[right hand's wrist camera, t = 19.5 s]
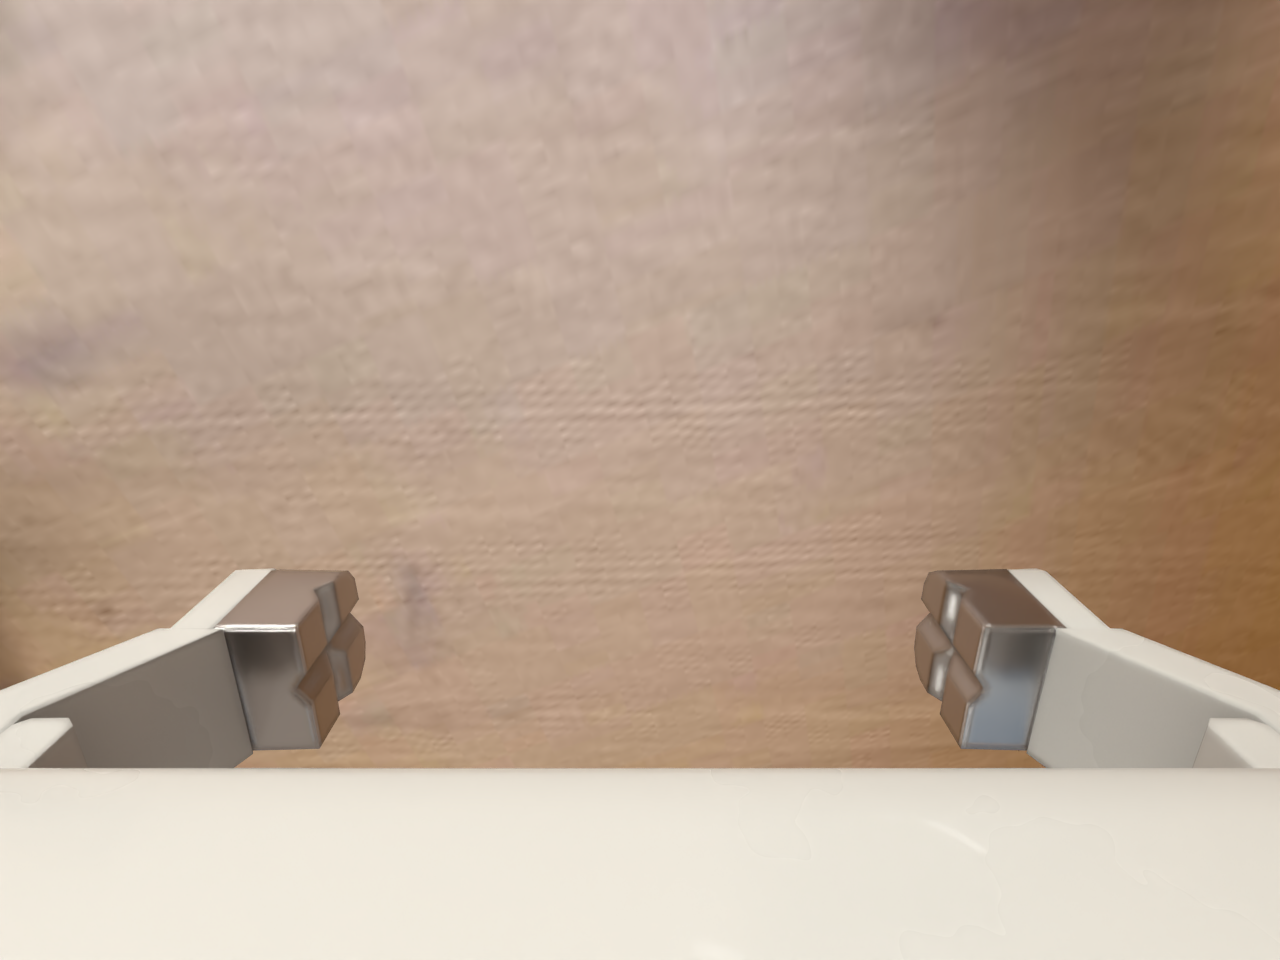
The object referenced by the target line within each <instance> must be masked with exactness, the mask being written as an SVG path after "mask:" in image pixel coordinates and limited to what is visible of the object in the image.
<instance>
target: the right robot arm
mask: <svg viewBox="0 0 1280 960" xmlns="http://www.w3.org/2000/svg"><path fill="white" fill-rule="evenodd" d="M358 600H359V598H358V593H357V588H356V583H355V578H354V577H353V576H352V575H351V574H350V572H349V571H337V570H282V569H280V570H277V569H245V570H235V571H234V572H233V573H232V574H231V575H230V576H228V577H227V578H226V579H225V580H224V581H223V582H222V583H221V584H219V585H218V586H217V587H216V588H215V589H214V590H213V591H212V592H211V593H209V594H208V595H207V596H206V597H205V598H204V599H203V600H202V601H200V602H199V603H198V604H197V605H196V606H195V607H194V608H193V609H191V610H190V611H189V612H188V613H187V614H186V615H185V616H184V617H182V618H181V619H180V620H179V621H178V622H177V623H176V624H175V625H173V626H172V627H171V628H170V629H156V630H153V631H151V632H148V633H146V634H143V635H140V636H138V637H135V638H133V639H130V640H128V641H125V642H123V643H120V644H118V645H115V646H112V647H110V648H107V649H105V650H102V651H100V652H97V653H95V654H92V655H89V656H87V657H84V658H82V659H79V660H77V661H74V662H72V663H69V664H66V665H64V666H61V667H59V668H56V669H54V670H51V671H49V672H46V673H43V674H41V675H38V676H36V677H33V678H31V679H28V680H26V681H23V682H20V683H18V684H15V685H13V686H10V687H8V688H5V689H3V690H0V960H1280V690H1277V689H1274V688H1272V687H1269V686H1267V685H1264V684H1262V683H1259V682H1257V681H1254V680H1252V679H1249V678H1246V677H1244V676H1241V675H1239V674H1236V673H1234V672H1231V671H1229V670H1226V669H1224V668H1221V667H1218V666H1216V665H1213V664H1211V663H1208V662H1206V661H1203V660H1201V659H1198V658H1196V657H1193V656H1190V655H1188V654H1185V653H1183V652H1180V651H1178V650H1175V649H1173V648H1170V647H1167V646H1165V645H1162V644H1160V643H1157V642H1155V641H1152V640H1150V639H1147V638H1145V637H1142V636H1139V635H1137V634H1134V633H1132V632H1129V631H1127V630H1124V629H1110V628H1109V627H1108V626H1107V625H1106V624H1104V623H1103V622H1102V621H1101V620H1100V619H1099V618H1098V617H1097V616H1095V615H1094V614H1093V613H1092V612H1091V611H1090V610H1089V609H1088V608H1086V607H1085V606H1084V605H1083V604H1082V603H1081V602H1080V601H1079V600H1078V599H1076V598H1075V597H1074V596H1073V595H1072V594H1071V593H1070V592H1069V591H1067V590H1066V589H1065V588H1064V587H1063V586H1062V585H1061V584H1060V583H1058V582H1057V581H1056V580H1055V579H1054V578H1053V577H1052V576H1051V575H1050V574H1048V573H1047V572H1046V571H1044V570H1040V569H1036V568H1035V569H1013V570H1007V569H990V570H948V571H934V572H929V573H928V576H927V578H926V580H925V582H924V586H923V592H922V598H921V600H922V601H923V603H924V604H925V606H926V607H927V609H928V611H929V612H930V613H929V614H928V615H927V616H926V617H925V618H924V620H923V621H922V622H921V623H920V624H919V625H918V626H917V629H916V637H915V645H914V651H915V662H916V668H917V671H918V674H919V678H920V680H921V682H922V684H923V686H924V688H925V689H926V691H927V693H929V694H931V695H932V696H934V697H936V698H937V699H939V700H941V701H942V705H941V711H940V715H941V717H942V718H943V720H944V722H945V723H946V725H947V727H948V728H949V730H950V732H951V733H952V735H953V737H954V738H955V740H956V742H957V743H958V745H959V747H960V748H961V749H992V750H1027V754H1028V755H1030V756H1031V757H1032V758H1034V759H1035V760H1037V761H1038V762H1039V763H1041V764H1042V765H1043V766H1045V767H1046V768H234V767H235V766H237V765H238V764H240V763H241V762H242V761H244V760H245V759H246V758H248V757H249V756H251V755H252V754H253V750H286V749H320V747H321V745H322V743H323V742H324V740H325V738H326V737H327V735H328V733H329V732H330V730H331V728H332V727H333V725H334V723H335V722H336V720H337V718H338V717H339V715H340V711H339V705H338V701H339V700H341V699H343V698H344V697H346V696H348V695H349V694H351V693H353V691H354V689H355V688H356V686H357V684H358V682H359V680H360V678H361V675H362V670H363V666H364V662H365V643H366V642H365V635H364V628H363V626H362V625H361V624H360V623H359V622H358V621H357V620H356V618H355V617H354V616H353V615H352V614H351V613H350V612H351V611H352V609H353V607H354V606H355V604H356V603H357V601H358Z"/></svg>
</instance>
